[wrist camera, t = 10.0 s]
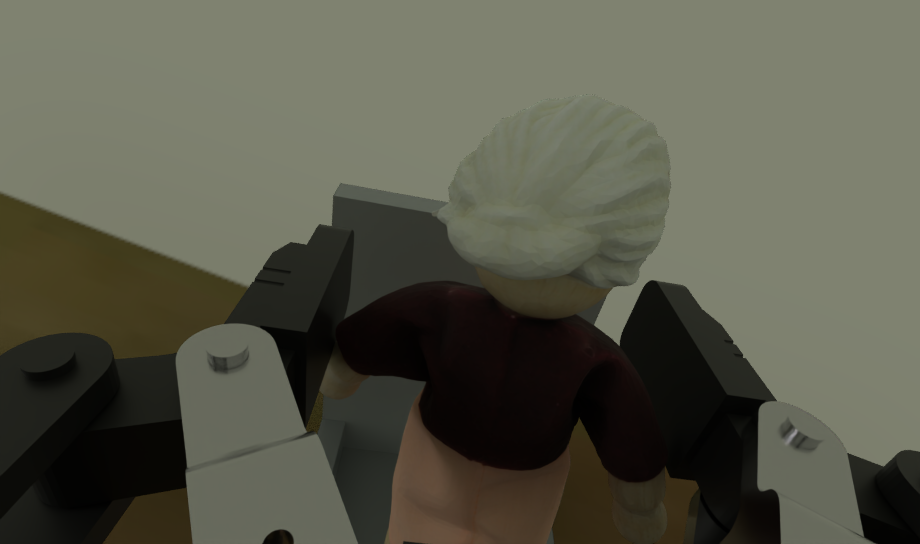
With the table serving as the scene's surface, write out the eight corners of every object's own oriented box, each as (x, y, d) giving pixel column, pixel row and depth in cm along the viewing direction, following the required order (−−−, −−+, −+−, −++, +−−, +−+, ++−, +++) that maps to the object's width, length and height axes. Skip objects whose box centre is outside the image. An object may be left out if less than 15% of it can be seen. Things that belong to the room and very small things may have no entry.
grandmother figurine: (569, 532, 15) (798, 125, 8) (577, 686, 11) (970, 215, 5) (331, 470, 15) (363, 26, 8) (271, 604, 12) (249, 47, 5)
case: (174, 952, 10) (-49, 865, 3) (325, 438, 21) (340, 183, 14) (578, 963, 11) (1008, 909, 4) (522, 463, 21) (619, 233, 15)
